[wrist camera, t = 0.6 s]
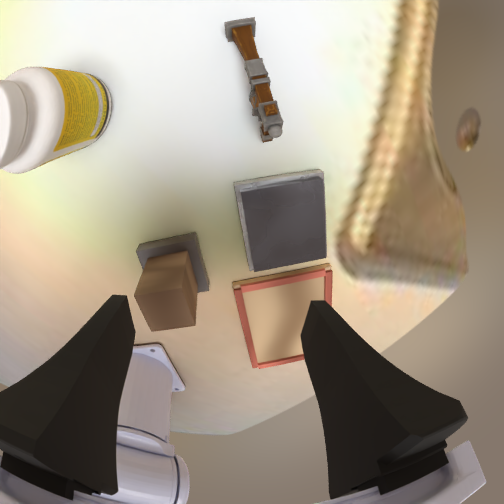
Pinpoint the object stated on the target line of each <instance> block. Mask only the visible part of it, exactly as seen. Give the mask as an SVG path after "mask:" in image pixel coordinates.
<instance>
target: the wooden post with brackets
mask: <svg viewBox="0 0 504 504" xmlns="http://www.w3.org/2000/svg"><path fill="white" fill-rule="evenodd" d="M255 25H256V21H255V17H252V18H246V19H239V20H234V21H228V22H225V31H226V38H227V39H228V42H230V41H234V42H235V43H236V45H237V46H238V48H239V50H240V52H241V54H242V56H243V58H244V60H245V70H246V71H247V73H248V77H249V80H250V84H251V89H252V91H251V95H250V98H249V100H250V102H251V104H252V106H253V114H252V115H253V116H259V121H262V124H261V126H262V127H260V132H261V137H262V141H263V142H268V141H272V139H273V138H277V137H279V136H280V135H281V134H282V129H281V128H282V125H283V120H282V118H281V116H280V112H279V109H278V106H277V101H273V97H272V94H271V91H270V79H269V77H267V76H268V72H267V71H266V69H265V67H264V64H263V60H262V58H259V55H258V53H257V50H256V46H255V42H254V38H253V37H255Z"/></svg>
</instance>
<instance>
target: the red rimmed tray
mask: <svg viewBox="0 0 504 504" xmlns="http://www.w3.org/2000/svg"><path fill="white" fill-rule="evenodd" d="M233 289H234V294H235V298H236V302H237V307H238V311H239V315H240V319H241V323H242V327H243V331H244V335H245V339H246V343H247V347H248V351H249V355H250V359H251V363H252V367H253V368H257V367H259V369H261V368H266V367H271V366H276V365H281V364H286V363H291V362H295V361H300V360H304V354H303V349H302V343H301V337H300V335H301V332H302V328H303V325H304V322H305V319H306V315H307V312H308V309H309V305H310V302H311V300H325V301H326V302H327V303H328V304H329V305H330V306H332V270H331V265H330V264H329V263H328V264H324V265H319V266H314V267H309V268H304V269H299V270H294V271H289V272H284V273H279V274H274V275H269V276H264V277H258V278H253V279H248V280H242V281H237V282H233Z"/></svg>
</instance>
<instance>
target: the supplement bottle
mask: <svg viewBox="0 0 504 504" xmlns="http://www.w3.org/2000/svg"><path fill="white" fill-rule="evenodd" d="M110 114H111V97H110V94H109V91H108V89H107V87H106V86H105V84H104V83H103V82H102V81H101V80H100V79H98V78H97V77H95V76H93V75H90V74H86V73H80V72H74V71H68V70H61V69H53V68H46V67H26V68H23V69H20V70H17V71H16V72H14V73H12V74H11V75H9V76H8V77H7V78H6V79H5V80H0V169H3V170H5V171H7V172H10V173H24V172H28V171H30V170H33V169H35V168H37V167H39V166H41V165H43V164H46V163H48V162H50V161H53V160H55V159H57V158H60V157H62V156H65V155H67V154H70V153H72V152H75V151H78V150H80V149H82V148H85V147H87V146H89V145H90V144H92V143H93V142H95V141H96V140H97V139H98V138H99V137H100V135H101V134H102V133H103V131H104V130H105V128H106V126H107V124H108V121H109V118H110Z"/></svg>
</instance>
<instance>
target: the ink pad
mask: <svg viewBox="0 0 504 504" xmlns="http://www.w3.org/2000/svg"><path fill="white" fill-rule="evenodd" d="M234 187H235V193H236V198H237V204H238V209H239V215H240V220H241V226H242V231H243V237H244V243H245V248H246V254H247V259H248V264H249V269H250V271H252V270H254V272H257V271H262V270H267V269H272V268H278V267H283V266H288V265H293V264H298V263H303V262H308V261H313V260H318V259H323V258H326V256H327V244H326V210H325V189H324V173H323V171H321V170H320V169H317V170H309V171H302V172H295V173H288V174H281V175H274V176H268V177H262V178H256V179H250V180H244V181H239V182H234Z"/></svg>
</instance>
